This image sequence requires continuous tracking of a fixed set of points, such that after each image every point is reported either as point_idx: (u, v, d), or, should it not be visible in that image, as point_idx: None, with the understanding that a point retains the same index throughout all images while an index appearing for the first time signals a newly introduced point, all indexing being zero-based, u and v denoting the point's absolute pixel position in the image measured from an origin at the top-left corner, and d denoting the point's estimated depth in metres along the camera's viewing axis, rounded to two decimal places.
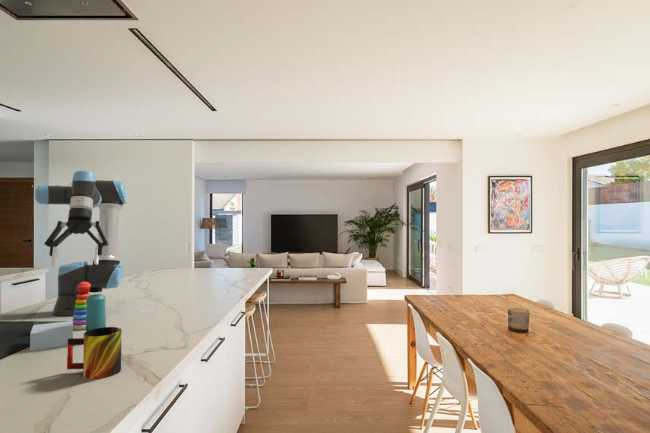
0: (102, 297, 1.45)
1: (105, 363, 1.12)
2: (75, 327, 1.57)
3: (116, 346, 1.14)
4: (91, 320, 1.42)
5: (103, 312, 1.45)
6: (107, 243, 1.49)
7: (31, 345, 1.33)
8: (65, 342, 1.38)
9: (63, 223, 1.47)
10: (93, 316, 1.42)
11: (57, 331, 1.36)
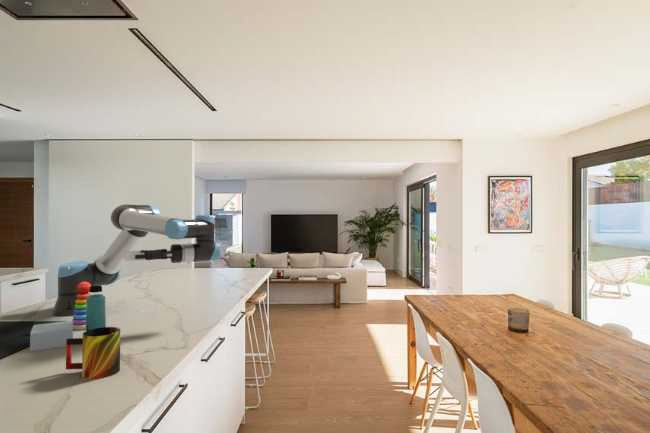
0: (102, 297, 1.45)
1: (104, 363, 1.12)
2: (75, 327, 1.57)
3: (115, 346, 1.14)
4: (91, 320, 1.42)
5: (103, 312, 1.45)
6: None
7: (31, 345, 1.33)
8: (65, 342, 1.38)
9: None
10: (93, 316, 1.42)
11: (57, 331, 1.36)
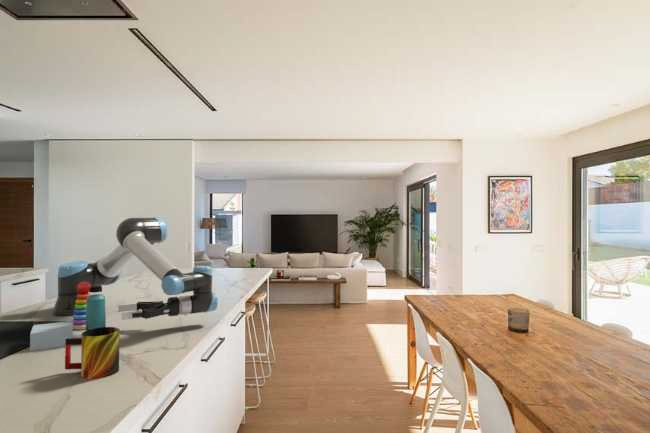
0: (102, 297, 1.45)
1: (103, 362, 1.12)
2: (75, 327, 1.57)
3: (114, 346, 1.14)
4: (91, 320, 1.42)
5: (103, 312, 1.45)
6: None
7: (31, 345, 1.33)
8: (65, 342, 1.38)
9: None
10: (93, 316, 1.42)
11: (57, 331, 1.36)
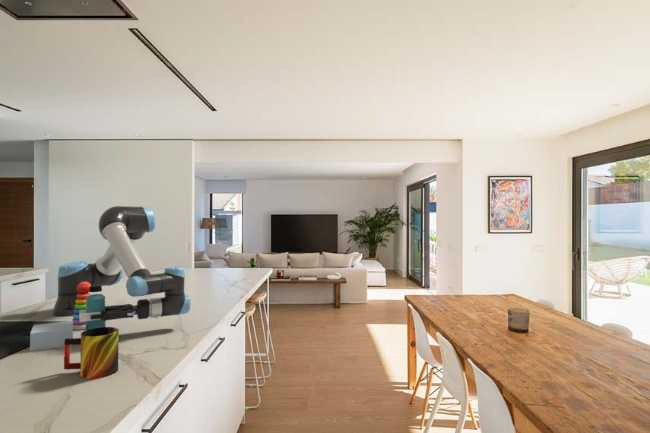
0: (102, 297, 1.45)
1: (102, 363, 1.12)
2: (75, 327, 1.57)
3: (113, 346, 1.14)
4: None
5: None
6: None
7: (31, 345, 1.33)
8: None
9: None
10: None
11: (57, 331, 1.36)
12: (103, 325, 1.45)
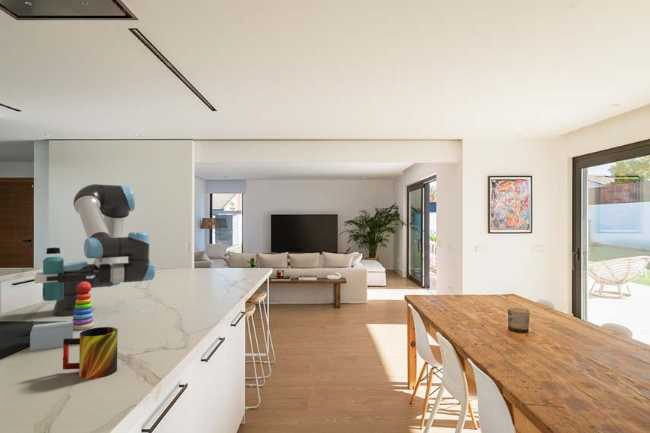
0: (60, 259, 1.40)
1: (101, 362, 1.12)
2: (75, 327, 1.57)
3: (112, 346, 1.14)
4: (48, 282, 1.38)
5: None
6: None
7: (31, 345, 1.33)
8: None
9: None
10: None
11: (57, 331, 1.36)
12: (61, 288, 1.41)
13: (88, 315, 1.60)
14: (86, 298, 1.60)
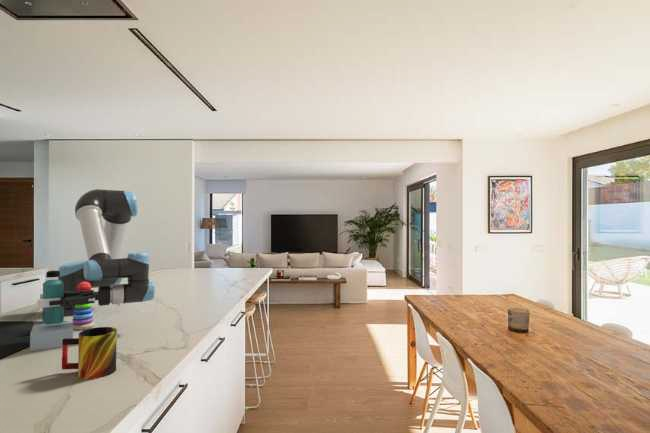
0: (59, 282, 1.40)
1: (100, 362, 1.12)
2: (75, 327, 1.57)
3: (111, 346, 1.14)
4: None
5: None
6: None
7: (31, 345, 1.33)
8: None
9: None
10: None
11: (57, 331, 1.36)
12: (61, 311, 1.41)
13: (88, 315, 1.60)
14: None
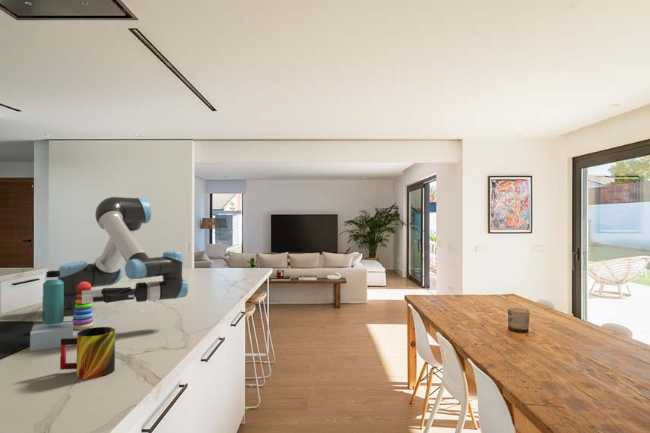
0: (60, 282, 1.40)
1: (98, 362, 1.12)
2: (75, 327, 1.57)
3: (109, 346, 1.14)
4: (47, 306, 1.38)
5: (61, 298, 1.41)
6: None
7: (31, 345, 1.33)
8: None
9: None
10: (50, 302, 1.38)
11: (57, 331, 1.36)
12: (61, 311, 1.41)
13: (88, 315, 1.60)
14: None
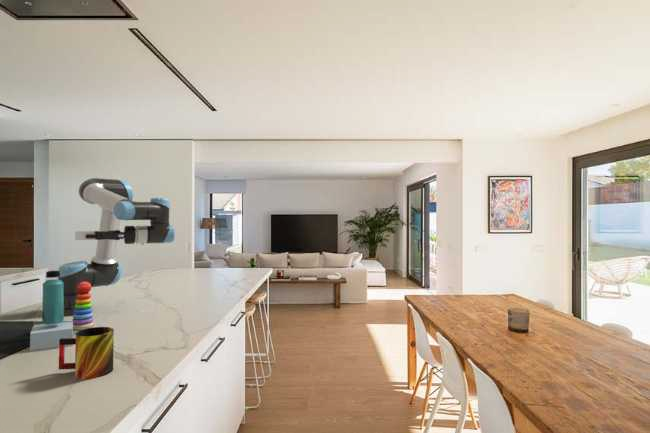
0: (59, 282, 1.40)
1: (97, 362, 1.12)
2: (75, 327, 1.57)
3: (108, 346, 1.14)
4: (47, 306, 1.38)
5: (60, 298, 1.41)
6: None
7: (31, 345, 1.33)
8: None
9: None
10: (50, 302, 1.38)
11: (57, 331, 1.36)
12: (60, 312, 1.41)
13: (88, 315, 1.60)
14: (86, 298, 1.60)
